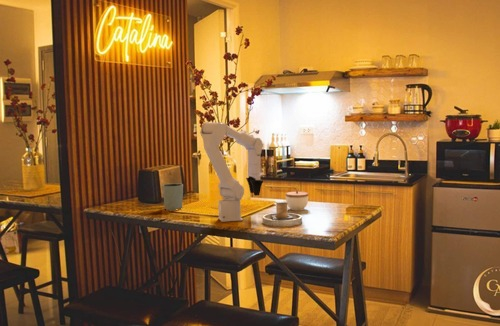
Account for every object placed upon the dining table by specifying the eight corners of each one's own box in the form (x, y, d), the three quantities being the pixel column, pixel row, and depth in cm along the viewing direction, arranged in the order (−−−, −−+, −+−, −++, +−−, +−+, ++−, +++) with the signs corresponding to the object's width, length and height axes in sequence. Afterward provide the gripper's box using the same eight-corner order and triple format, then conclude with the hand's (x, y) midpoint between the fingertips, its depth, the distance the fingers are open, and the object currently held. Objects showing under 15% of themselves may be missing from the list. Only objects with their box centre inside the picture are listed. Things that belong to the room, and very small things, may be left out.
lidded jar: (282, 208, 246) (282, 189, 245) (302, 206, 250) (302, 187, 249) (291, 212, 236) (291, 192, 235) (312, 210, 240) (312, 190, 239)
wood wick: (278, 222, 213) (277, 203, 212) (276, 221, 215) (276, 202, 215) (287, 221, 214) (287, 202, 213) (285, 220, 216) (285, 201, 216)
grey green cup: (185, 207, 255) (185, 183, 254) (181, 210, 245) (180, 186, 244) (165, 207, 256) (165, 183, 255) (160, 210, 246) (159, 186, 245)
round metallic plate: (268, 227, 205) (268, 221, 205) (259, 219, 221) (259, 214, 221) (306, 225, 209) (306, 219, 208) (294, 217, 224) (294, 211, 224)
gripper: (266, 165, 224) (267, 196, 226) (259, 162, 238) (259, 191, 240) (251, 166, 223) (251, 196, 224) (244, 163, 237) (244, 192, 238)
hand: (254, 194), depth 232 cm, fingers open, 7 cm apart
